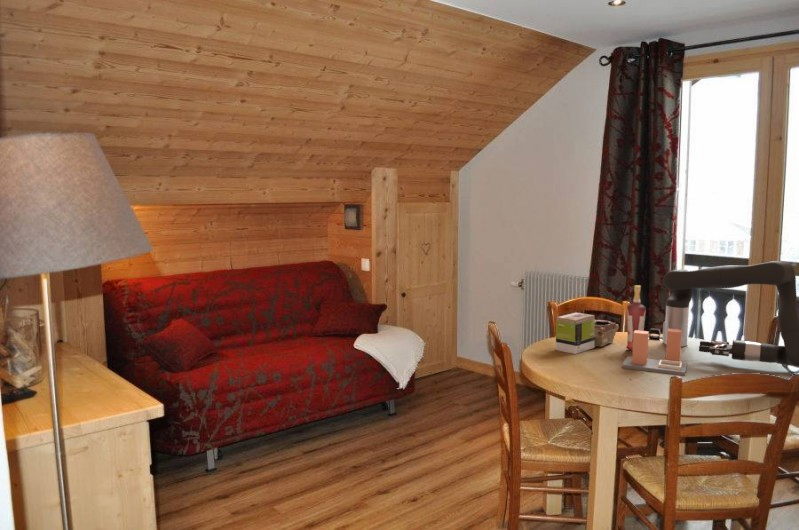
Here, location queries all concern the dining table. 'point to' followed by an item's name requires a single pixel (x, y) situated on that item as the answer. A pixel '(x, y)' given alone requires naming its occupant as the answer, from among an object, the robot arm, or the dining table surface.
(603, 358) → the dining table surface
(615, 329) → the grey textured container
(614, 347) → the dining table surface
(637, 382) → the dining table surface
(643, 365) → the charcoal board
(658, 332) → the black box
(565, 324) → the tea box
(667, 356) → the terracotta block
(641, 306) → the liquor
